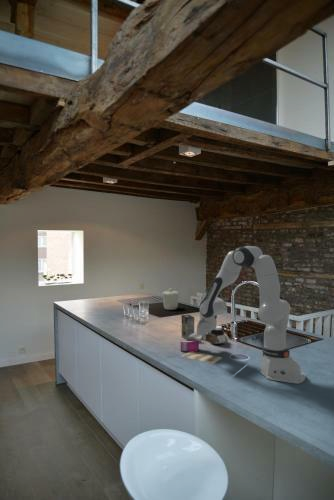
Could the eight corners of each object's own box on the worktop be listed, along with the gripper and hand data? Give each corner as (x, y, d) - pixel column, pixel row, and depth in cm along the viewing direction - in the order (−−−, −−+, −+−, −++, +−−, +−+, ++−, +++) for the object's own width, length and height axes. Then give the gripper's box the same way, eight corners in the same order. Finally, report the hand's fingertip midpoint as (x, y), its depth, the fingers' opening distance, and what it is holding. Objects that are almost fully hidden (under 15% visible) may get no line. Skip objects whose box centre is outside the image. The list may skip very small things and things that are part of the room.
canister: (176, 311, 337) (176, 290, 337) (159, 310, 344) (159, 289, 343) (181, 307, 354) (181, 287, 354) (165, 306, 361) (165, 286, 360)
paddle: (217, 341, 217) (218, 335, 217) (213, 345, 210) (214, 338, 209) (193, 334, 225) (194, 328, 224) (188, 337, 218) (189, 331, 217)
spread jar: (208, 344, 234) (208, 327, 233) (213, 339, 243) (213, 323, 243) (224, 346, 228) (224, 329, 227) (230, 342, 238) (230, 325, 237)
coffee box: (181, 336, 251) (181, 315, 250) (189, 335, 253) (189, 314, 253) (186, 340, 242) (186, 317, 242) (194, 339, 245) (194, 316, 244)
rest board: (222, 358, 205) (222, 357, 205) (213, 365, 195) (213, 363, 195) (191, 352, 217) (191, 350, 217) (181, 357, 207) (181, 356, 207)
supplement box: (198, 350, 222) (180, 349, 222) (198, 340, 222) (180, 340, 223) (198, 351, 216) (180, 351, 216) (198, 341, 217) (180, 341, 217)
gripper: (203, 321, 205) (203, 344, 206) (218, 314, 222) (218, 335, 223) (194, 319, 209) (194, 342, 209) (209, 313, 226) (209, 334, 226)
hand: (206, 338), depth 216 cm, fingers closed on paddle, 3 cm apart
